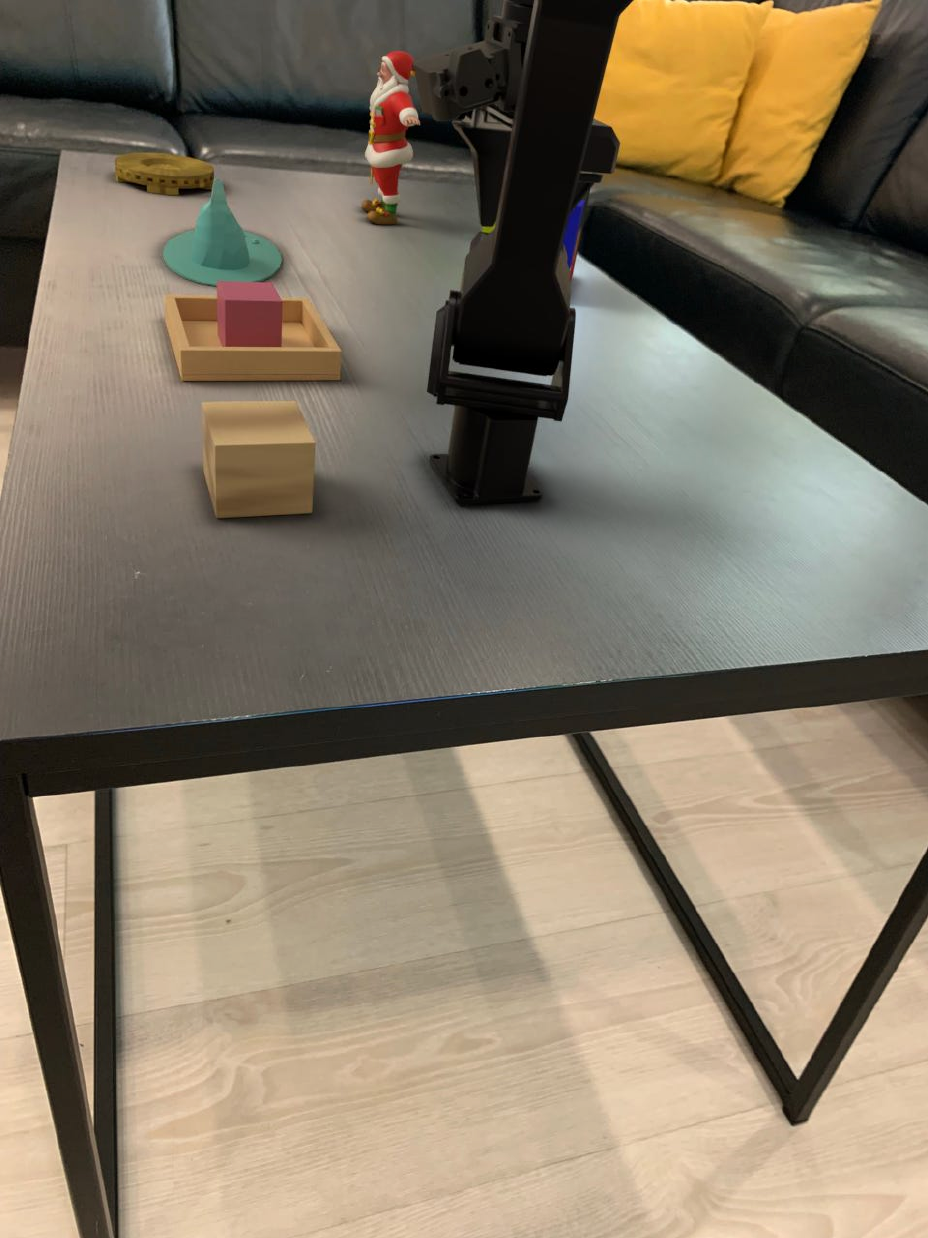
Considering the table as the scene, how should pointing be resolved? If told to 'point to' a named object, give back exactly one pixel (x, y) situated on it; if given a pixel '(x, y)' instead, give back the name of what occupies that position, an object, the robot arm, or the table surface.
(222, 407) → the base block
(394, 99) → the santa figurine
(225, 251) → the teal cone with brim
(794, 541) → the table surface
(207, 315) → the tray
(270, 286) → the rose block
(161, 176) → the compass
